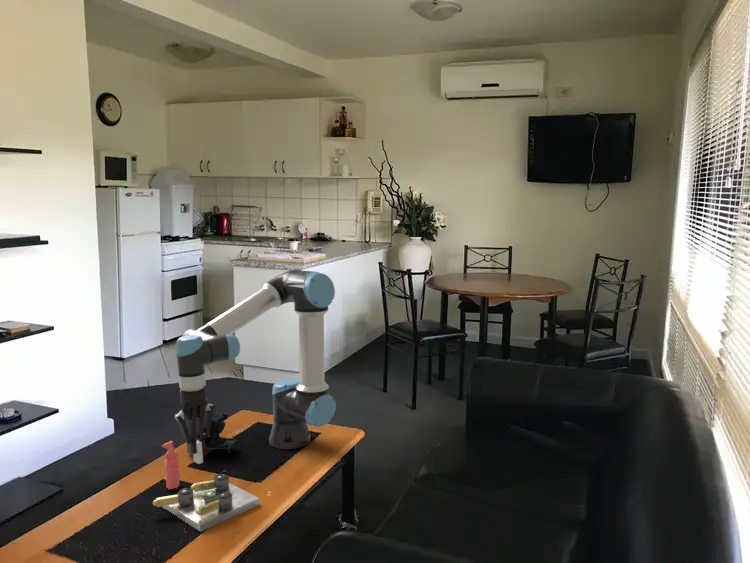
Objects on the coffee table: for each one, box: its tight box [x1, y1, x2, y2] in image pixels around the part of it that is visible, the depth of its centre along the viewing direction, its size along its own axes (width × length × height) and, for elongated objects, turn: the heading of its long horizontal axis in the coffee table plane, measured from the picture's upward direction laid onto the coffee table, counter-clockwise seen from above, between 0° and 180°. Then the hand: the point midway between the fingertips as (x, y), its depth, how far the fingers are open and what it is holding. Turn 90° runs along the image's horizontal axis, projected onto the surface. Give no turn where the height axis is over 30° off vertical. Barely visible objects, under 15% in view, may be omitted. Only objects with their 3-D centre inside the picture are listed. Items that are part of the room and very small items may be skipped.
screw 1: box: [152, 487, 194, 508], centre depth 180 cm, size 11×4×4 cm, turn 111°
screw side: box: [196, 492, 232, 516], centre depth 176 cm, size 11×4×4 cm, turn 138°
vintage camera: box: [185, 397, 238, 457], centre depth 222 cm, size 10×16×20 cm, turn 78°
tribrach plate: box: [162, 482, 260, 532], centre depth 183 cm, size 20×20×4 cm
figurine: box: [161, 440, 182, 490], centre depth 195 cm, size 5×5×15 cm
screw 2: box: [190, 473, 230, 492], centre depth 189 cm, size 11×4×4 cm, turn 111°
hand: (198, 461), depth 189 cm, fingers closed
